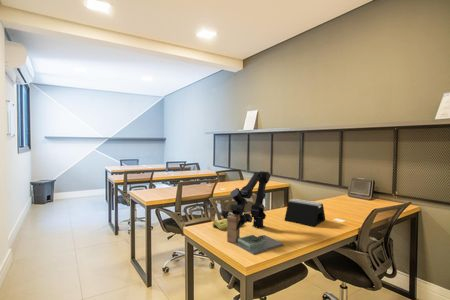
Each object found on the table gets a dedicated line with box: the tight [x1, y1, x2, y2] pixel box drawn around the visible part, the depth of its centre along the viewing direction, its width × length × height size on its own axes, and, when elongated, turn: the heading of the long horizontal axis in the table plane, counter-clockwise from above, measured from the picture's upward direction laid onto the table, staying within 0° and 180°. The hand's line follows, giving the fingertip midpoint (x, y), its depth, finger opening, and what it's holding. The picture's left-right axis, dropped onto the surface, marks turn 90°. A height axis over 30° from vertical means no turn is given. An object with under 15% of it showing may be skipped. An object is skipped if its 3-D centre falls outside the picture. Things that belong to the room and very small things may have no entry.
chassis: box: [235, 234, 284, 255], centre depth 144 cm, size 22×16×3 cm
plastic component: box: [211, 218, 227, 231], centre depth 178 cm, size 20×7×10 cm
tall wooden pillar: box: [226, 213, 241, 244], centre depth 149 cm, size 6×6×15 cm
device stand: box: [284, 198, 326, 228], centre depth 191 cm, size 22×22×15 cm
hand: (232, 228), depth 148 cm, fingers closed on tall wooden pillar, 6 cm apart
